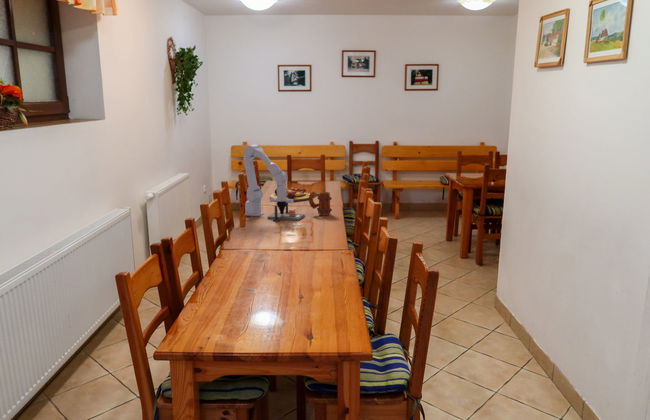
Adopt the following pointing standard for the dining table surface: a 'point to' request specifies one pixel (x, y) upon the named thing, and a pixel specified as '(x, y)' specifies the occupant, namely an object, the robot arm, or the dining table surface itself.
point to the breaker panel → (287, 216)
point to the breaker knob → (291, 212)
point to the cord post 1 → (276, 215)
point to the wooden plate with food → (294, 194)
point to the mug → (321, 202)
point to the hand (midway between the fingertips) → (282, 213)
